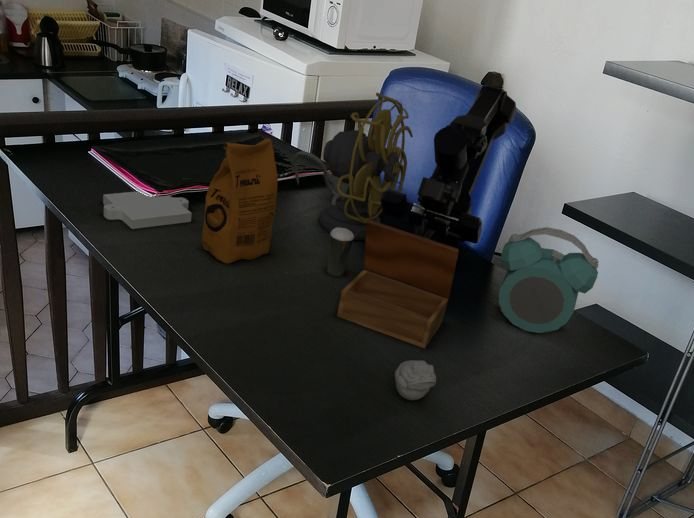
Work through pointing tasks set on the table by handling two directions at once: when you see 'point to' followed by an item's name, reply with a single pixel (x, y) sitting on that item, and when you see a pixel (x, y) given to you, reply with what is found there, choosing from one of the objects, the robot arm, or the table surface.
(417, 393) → the grey lumpy ball
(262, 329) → the table surface
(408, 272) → the lid
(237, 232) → the coffee package
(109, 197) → the mounting plate
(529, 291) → the alarm clock
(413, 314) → the brown open rectangular box
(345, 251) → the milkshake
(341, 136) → the electric fan
